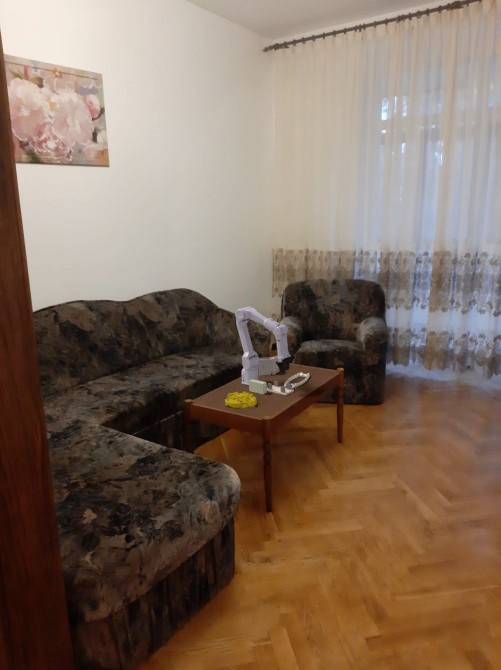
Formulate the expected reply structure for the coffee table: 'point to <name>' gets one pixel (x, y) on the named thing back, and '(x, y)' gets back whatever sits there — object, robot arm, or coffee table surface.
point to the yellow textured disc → (240, 400)
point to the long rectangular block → (257, 386)
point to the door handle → (296, 377)
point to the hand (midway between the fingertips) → (285, 371)
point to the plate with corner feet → (279, 388)
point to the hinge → (268, 366)
